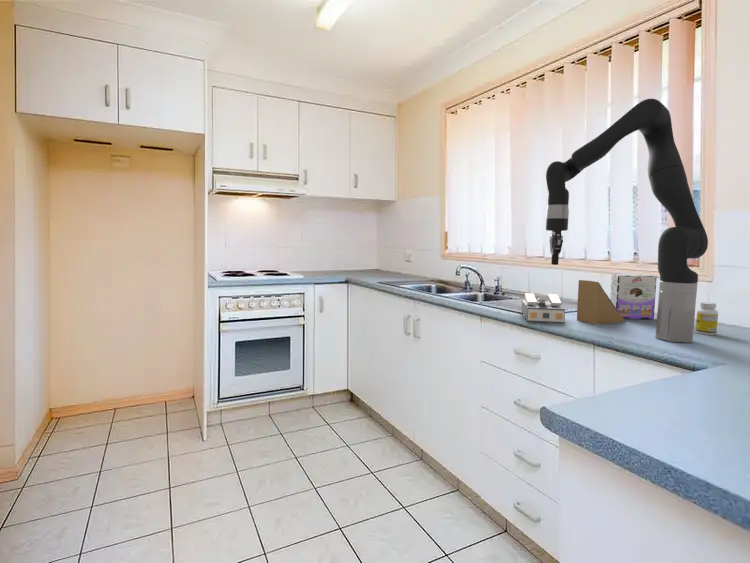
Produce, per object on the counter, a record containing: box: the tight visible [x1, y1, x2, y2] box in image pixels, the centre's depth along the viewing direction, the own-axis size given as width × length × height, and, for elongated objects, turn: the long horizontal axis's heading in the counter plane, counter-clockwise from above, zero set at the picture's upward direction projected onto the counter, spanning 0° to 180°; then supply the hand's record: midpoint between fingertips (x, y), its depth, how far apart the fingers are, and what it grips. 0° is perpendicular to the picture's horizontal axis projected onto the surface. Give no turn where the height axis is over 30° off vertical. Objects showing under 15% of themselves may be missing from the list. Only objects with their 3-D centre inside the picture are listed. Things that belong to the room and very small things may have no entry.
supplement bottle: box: [695, 301, 719, 336], centre depth 141 cm, size 5×5×10 cm
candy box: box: [609, 273, 657, 320], centre depth 167 cm, size 14×6×16 cm, turn 84°
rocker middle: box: [535, 296, 550, 302], centre depth 164 cm, size 9×3×1 cm, turn 168°
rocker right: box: [547, 293, 563, 306], centre depth 163 cm, size 9×3×1 cm, turn 168°
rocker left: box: [524, 293, 537, 305], centre depth 165 cm, size 9×3×1 cm, turn 168°
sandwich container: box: [576, 279, 626, 325], centre depth 160 cm, size 9×15×15 cm, turn 113°
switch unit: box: [520, 300, 566, 324], centre depth 164 cm, size 19×12×6 cm, turn 168°
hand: (554, 264), depth 165 cm, fingers closed
